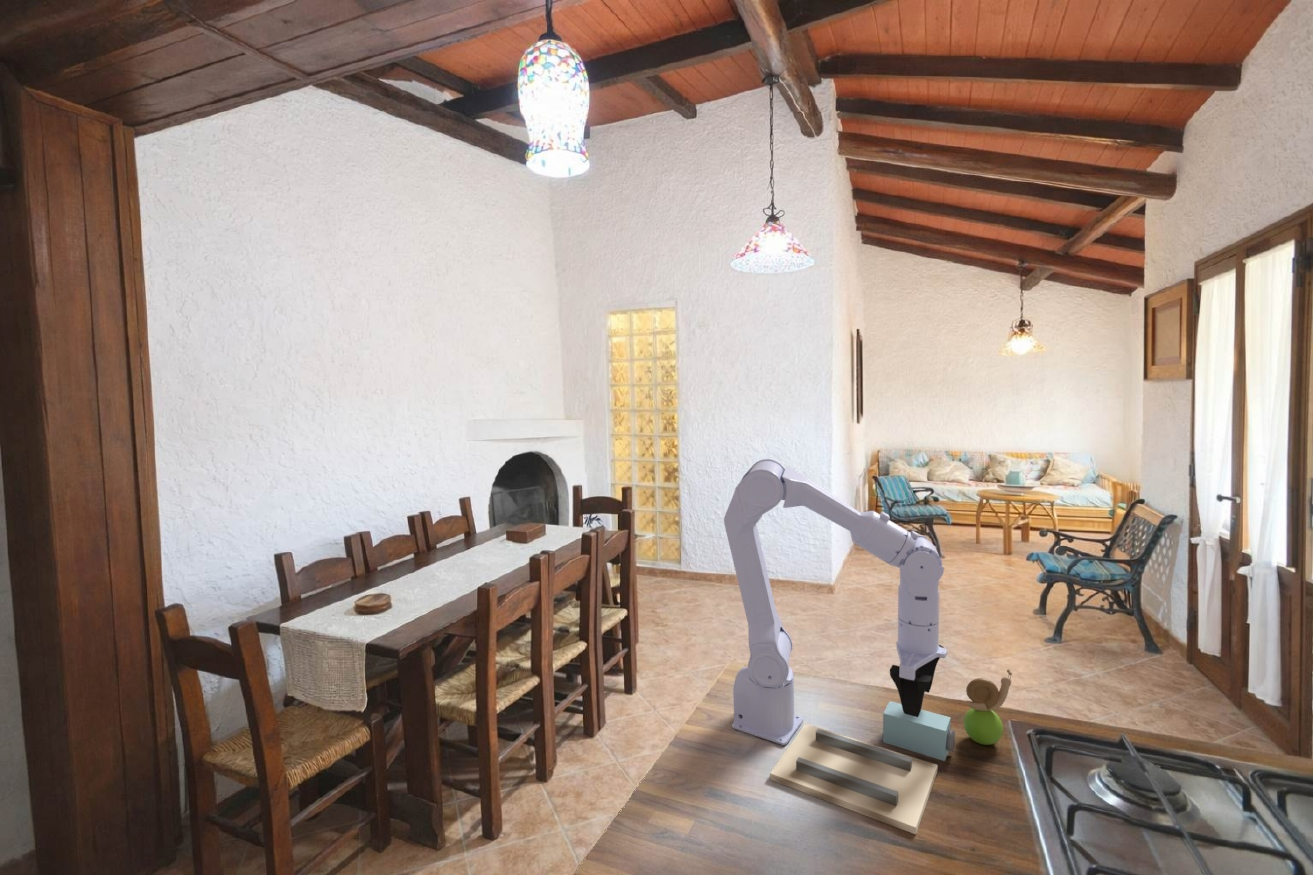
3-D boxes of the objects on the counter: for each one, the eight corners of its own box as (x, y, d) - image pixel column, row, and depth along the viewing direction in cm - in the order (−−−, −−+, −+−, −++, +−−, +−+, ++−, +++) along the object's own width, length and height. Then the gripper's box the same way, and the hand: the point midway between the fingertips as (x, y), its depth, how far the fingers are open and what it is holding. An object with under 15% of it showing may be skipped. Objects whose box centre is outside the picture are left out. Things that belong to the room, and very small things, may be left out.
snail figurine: (1014, 754, 94) (1018, 679, 92) (968, 750, 95) (971, 677, 94) (1002, 732, 99) (1005, 661, 98) (958, 729, 101) (961, 659, 99)
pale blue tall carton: (882, 742, 98) (883, 713, 98) (889, 729, 102) (889, 700, 101) (950, 763, 93) (951, 732, 92) (955, 749, 96) (956, 718, 95)
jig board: (770, 779, 91) (769, 763, 91) (805, 729, 102) (805, 714, 102) (915, 834, 80) (916, 816, 79) (937, 771, 91) (937, 755, 91)
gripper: (937, 643, 86) (935, 734, 88) (955, 605, 98) (953, 686, 100) (884, 632, 90) (884, 719, 92) (908, 597, 102) (907, 675, 104)
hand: (917, 701), depth 96 cm, fingers open, 7 cm apart
